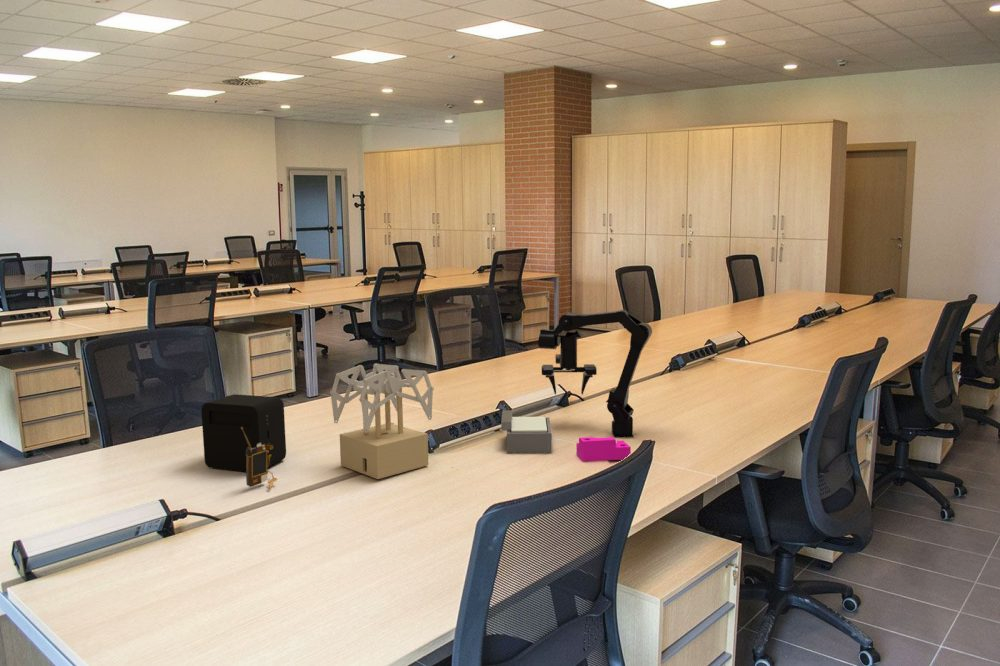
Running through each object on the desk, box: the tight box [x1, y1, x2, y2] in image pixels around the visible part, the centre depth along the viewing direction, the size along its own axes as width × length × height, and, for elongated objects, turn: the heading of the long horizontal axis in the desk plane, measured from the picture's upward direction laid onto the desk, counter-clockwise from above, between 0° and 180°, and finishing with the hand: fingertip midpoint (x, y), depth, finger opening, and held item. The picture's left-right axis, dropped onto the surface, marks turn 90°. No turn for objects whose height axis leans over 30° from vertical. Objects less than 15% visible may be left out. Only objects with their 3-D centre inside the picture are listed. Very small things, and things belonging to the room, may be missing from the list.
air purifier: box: [200, 393, 287, 473], centre depth 234 cm, size 20×15×20 cm
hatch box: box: [506, 416, 553, 454], centre depth 252 cm, size 14×21×6 cm, turn 178°
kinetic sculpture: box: [329, 363, 435, 480], centre depth 230 cm, size 25×20×30 cm
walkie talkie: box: [241, 427, 278, 489], centre depth 215 cm, size 13×13×18 cm
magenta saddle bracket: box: [575, 436, 632, 463], centre depth 237 cm, size 15×6×8 cm
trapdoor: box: [500, 409, 547, 432], centre depth 252 cm, size 14×18×3 cm
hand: (568, 394), depth 267 cm, fingers open, 9 cm apart
